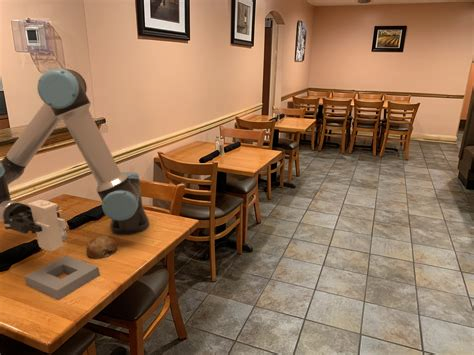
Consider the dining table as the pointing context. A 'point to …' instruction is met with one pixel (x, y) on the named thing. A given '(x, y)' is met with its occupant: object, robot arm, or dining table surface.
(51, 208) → the cream block
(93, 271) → the frame
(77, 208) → the dining table surface
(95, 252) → the bread roll
